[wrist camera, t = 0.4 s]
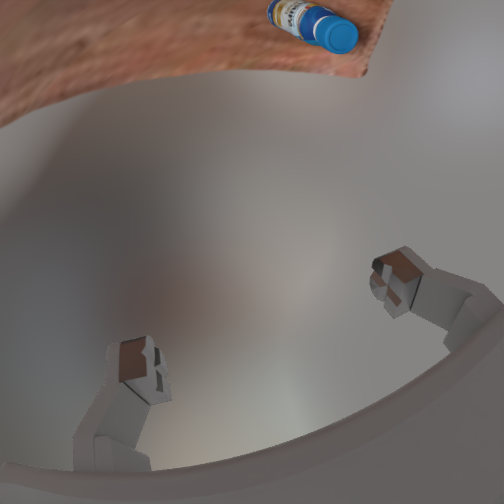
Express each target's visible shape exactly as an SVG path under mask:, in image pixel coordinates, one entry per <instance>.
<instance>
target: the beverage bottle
mask: <svg viewBox="0 0 504 504" xmlns="http://www.w3.org/2000/svg"><path fill="white" fill-rule="evenodd" d="M267 17H268V19H269V21H270V22H271V23H272V24H273V25H274V26H276V27H278V28H280V29H283V30H285V31H287V32H289V33H291V34H293V35H294V36H295V37H296V38H298V39H300V40H302V41H305V42H307V43H308V44H311V45H315V46H322V47H323V48H325V49H327V50H328V51H330V52H332V53H335V54H345V53H348V52H349V51H351V50H352V49H353V48H354V47H355V45H356V44H357V41H358V30H357V28H356V26H355V25H354V24H353V23H352V22H350V21H348V20H346V19H344V18H341V17H339V16H337V15H336V14H335V13H334V12H333V11H331V10H330V9H328V8H325V7H322V6H320V5H318V4H315V3H309V2H306V1H302V0H273V1H272V2H271V3H270V5H269V6H268V9H267Z"/></svg>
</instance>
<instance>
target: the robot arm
mask: <svg viewBox="0 0 504 504" xmlns="http://www.w3.org/2000/svg"><path fill="white" fill-rule="evenodd" d="M372 268H373V270H374V272H373V273H372V275H371V276H370V287H371V290H372V293H373V294H374V296H375V297H376V298H377V299H378V300H381V301H383V302H384V308H385V309H386V310H387V312H388V313H389V314H390V315H391V316H392V318H393V319H395V318H396V317H399V316H400V315H402V314H404V313H406V312H408V311H410V310H411V311H410V312H412V313H414V314H416V315H418V316H420V317H422V318H424V319H426V320H428V321H430V322H432V323H433V324H436V325H437V326H439V327H441V328H443V329H445V330H447V331H448V333H447V335H446V337H445V338H444V342H443V343H444V345H445V346H446V347H447V348H448V350H449V351H450V352H451V353H450V354H449V355H448V356H446V357H445V358H443V359H442V360H441V361H439V362H438V363H437V364H435V365H434V366H432V367H431V368H430V369H428V370H427V371H425V372H424V373H422V374H421V375H419V376H418V377H416V378H415V379H414V380H412V381H410V382H409V383H407V384H406V385H404V386H402V387H401V388H399V389H397V390H396V391H394V392H393V393H391V394H389V395H387V396H386V397H384V398H382V399H380V400H379V401H377V402H375V403H373V404H371V405H369V406H368V407H366V408H364V409H362V410H360V411H358V412H356V413H354V414H352V415H350V416H348V417H346V418H343V419H342V420H339V421H337V422H335V423H332V424H331V425H328V426H326V427H323V428H321V429H319V430H316V431H314V432H311V433H309V434H306V435H304V436H301V437H298V438H296V439H293V440H290V441H287V442H284V443H281V444H279V445H275V446H272V447H269V448H266V449H263V450H259V451H256V452H252V453H249V454H245V455H241V456H237V457H233V458H229V459H225V460H221V461H216V462H211V463H206V464H200V465H195V466H189V467H182V468H175V469H167V470H157V471H151V466H150V460H149V457H148V456H147V455H145V454H143V453H141V452H139V451H137V450H135V447H136V444H137V441H138V439H139V436H140V433H141V431H142V428H143V425H144V423H145V420H146V418H147V415H148V412H149V410H150V407H151V406H150V405H155V404H159V403H163V402H168V401H171V400H172V398H171V391H170V384H169V383H168V382H167V381H166V379H165V378H166V377H167V375H168V367H167V363H166V360H165V357H164V355H163V353H162V352H161V351H160V349H159V348H156V347H154V341H153V340H152V338H151V337H150V336H143V337H139V338H135V339H130V340H126V341H122V342H118V343H114V344H109V346H108V348H107V360H106V378H105V385H104V386H101V388H100V390H99V392H98V393H97V395H96V397H95V398H94V400H93V402H92V403H91V405H90V407H89V408H88V410H87V412H86V414H85V415H84V417H83V419H82V421H81V422H80V424H79V426H78V428H77V430H76V431H75V433H74V435H73V468H74V471H63V470H55V469H47V468H40V467H34V466H29V465H24V464H19V463H15V462H5V463H4V464H3V465H2V467H1V468H0V504H504V304H503V303H502V302H501V301H500V300H499V299H498V298H497V297H496V296H495V295H494V294H493V293H492V292H491V291H490V290H489V289H488V288H487V287H486V286H485V285H484V284H481V283H478V282H475V281H473V280H470V279H467V278H464V277H461V276H458V275H455V274H452V273H449V272H446V271H443V270H440V269H437V268H436V269H433V268H431V267H430V266H429V265H428V264H427V263H426V262H425V261H424V260H423V259H422V258H421V257H419V256H418V255H417V254H416V253H415V252H414V251H413V250H412V249H410V248H409V247H407V246H404V247H401V248H399V249H396V250H395V251H392V252H389V253H387V254H384V255H382V256H380V257H377V258H375V259H374V260H373V262H372Z"/></svg>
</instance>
